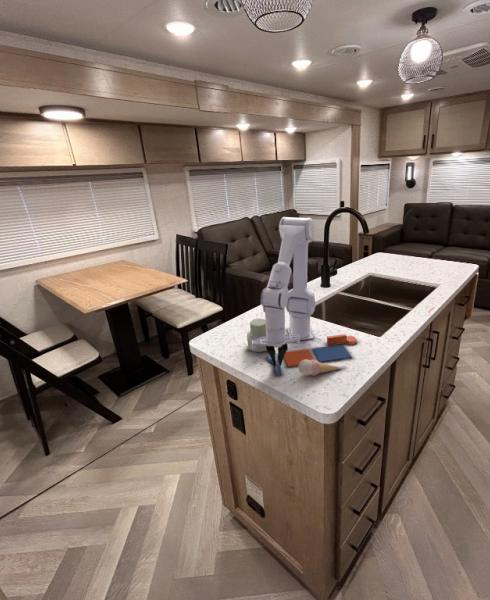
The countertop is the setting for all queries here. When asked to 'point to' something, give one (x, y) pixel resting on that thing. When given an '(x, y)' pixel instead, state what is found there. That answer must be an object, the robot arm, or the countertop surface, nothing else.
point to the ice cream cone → (314, 367)
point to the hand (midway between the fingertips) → (276, 364)
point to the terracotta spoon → (340, 339)
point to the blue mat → (331, 353)
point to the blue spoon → (276, 364)
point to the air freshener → (256, 333)
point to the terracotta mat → (297, 357)
